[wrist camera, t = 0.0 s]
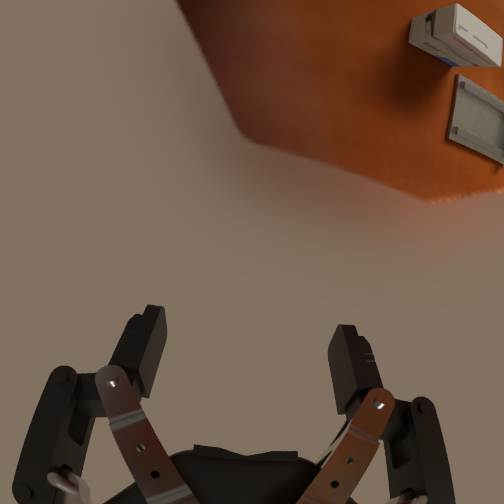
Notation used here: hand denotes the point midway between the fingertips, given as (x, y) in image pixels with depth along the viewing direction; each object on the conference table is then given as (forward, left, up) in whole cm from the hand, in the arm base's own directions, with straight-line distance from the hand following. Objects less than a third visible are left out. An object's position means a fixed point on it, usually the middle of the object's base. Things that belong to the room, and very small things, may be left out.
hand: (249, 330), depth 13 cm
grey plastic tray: (-16, +36, -29) cm, 49 cm away
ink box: (-25, +23, -30) cm, 45 cm away
